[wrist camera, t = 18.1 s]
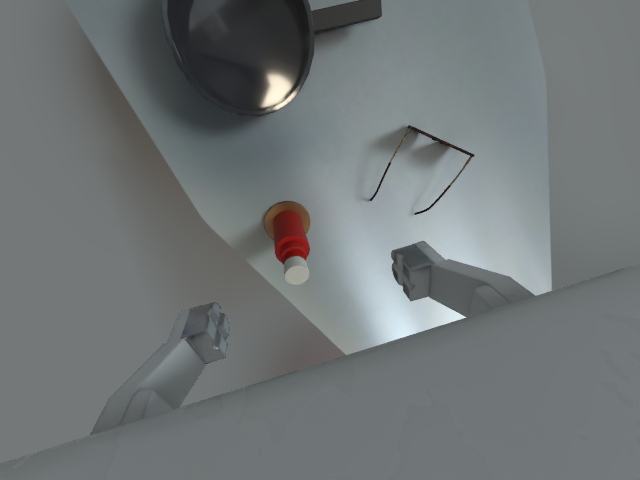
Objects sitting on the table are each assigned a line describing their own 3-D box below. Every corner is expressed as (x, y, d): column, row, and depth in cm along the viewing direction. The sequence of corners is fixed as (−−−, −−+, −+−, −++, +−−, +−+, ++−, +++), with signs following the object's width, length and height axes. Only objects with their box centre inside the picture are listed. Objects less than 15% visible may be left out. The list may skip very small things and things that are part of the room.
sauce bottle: (277, 239, 49) (283, 295, 35) (269, 214, 46) (271, 265, 32) (304, 231, 49) (320, 284, 35) (297, 206, 46) (312, 254, 32)
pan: (211, 125, 37) (205, 129, 33) (146, -34, 28) (125, -57, 24) (319, 98, 38) (325, 99, 34) (290, -64, 29) (294, -90, 25)
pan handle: (311, 34, 32) (312, 32, 31) (307, 14, 31) (309, 11, 30) (378, 18, 33) (382, 16, 32) (377, -2, 32) (381, -5, 31)
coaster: (272, 246, 50) (272, 248, 50) (257, 208, 45) (257, 209, 45) (314, 235, 51) (314, 236, 50) (304, 195, 46) (304, 196, 45)
